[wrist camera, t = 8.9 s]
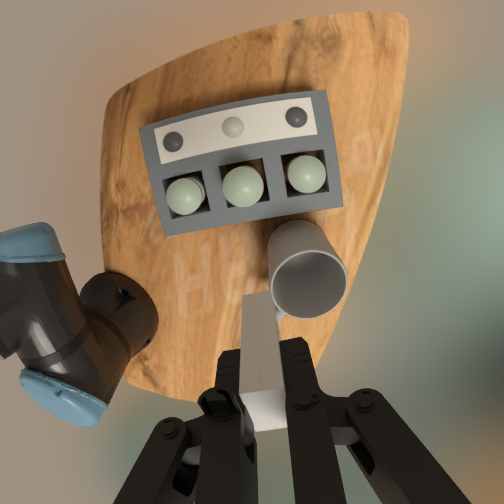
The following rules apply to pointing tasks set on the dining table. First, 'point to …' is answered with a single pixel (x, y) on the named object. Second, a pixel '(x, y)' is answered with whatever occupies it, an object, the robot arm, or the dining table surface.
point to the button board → (270, 151)
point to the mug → (304, 271)
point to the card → (235, 128)
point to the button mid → (243, 186)
